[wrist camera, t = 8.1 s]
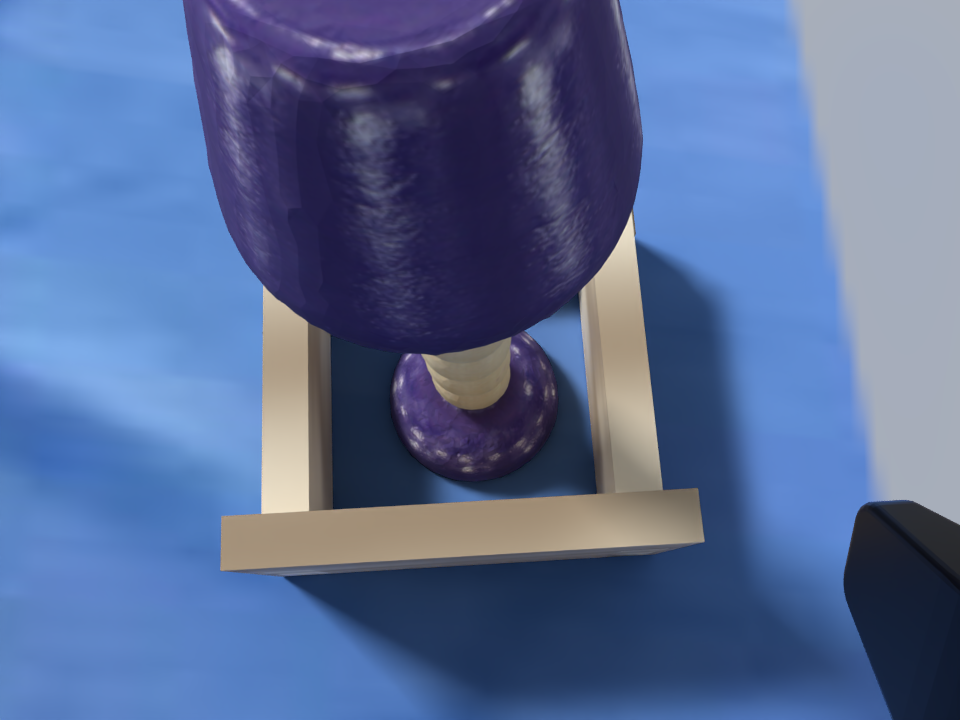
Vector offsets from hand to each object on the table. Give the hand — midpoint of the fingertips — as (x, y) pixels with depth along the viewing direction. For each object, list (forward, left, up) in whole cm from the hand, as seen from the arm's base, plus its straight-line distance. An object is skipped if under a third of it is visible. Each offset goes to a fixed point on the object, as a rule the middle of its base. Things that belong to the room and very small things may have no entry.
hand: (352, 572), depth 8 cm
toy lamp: (+4, -1, -14) cm, 15 cm away
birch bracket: (+5, -1, -14) cm, 15 cm away
